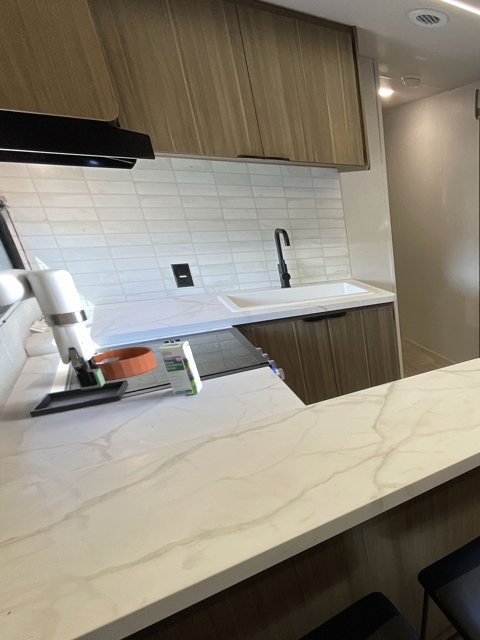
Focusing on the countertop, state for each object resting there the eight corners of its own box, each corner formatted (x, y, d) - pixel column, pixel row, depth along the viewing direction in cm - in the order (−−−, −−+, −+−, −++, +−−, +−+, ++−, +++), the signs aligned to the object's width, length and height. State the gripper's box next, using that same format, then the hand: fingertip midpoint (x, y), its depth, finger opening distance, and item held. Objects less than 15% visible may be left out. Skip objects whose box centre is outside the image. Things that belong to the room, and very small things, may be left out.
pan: (32, 419, 102) (29, 412, 101) (49, 400, 112) (46, 393, 112) (121, 402, 111) (118, 395, 110) (129, 385, 121) (126, 379, 120)
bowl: (87, 385, 121) (78, 367, 119) (99, 369, 134) (91, 352, 131) (155, 374, 129) (148, 356, 127) (160, 359, 142) (154, 343, 140)
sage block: (81, 390, 109) (75, 375, 107) (85, 385, 112) (79, 371, 111) (102, 387, 111) (96, 372, 109) (105, 381, 114) (100, 368, 113)
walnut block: (105, 375, 127) (100, 363, 126) (107, 371, 131) (102, 359, 129) (122, 372, 129) (117, 360, 128) (124, 368, 133) (120, 356, 131)
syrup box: (174, 397, 113) (157, 348, 108) (179, 389, 118) (163, 342, 113) (198, 393, 115) (182, 345, 110) (202, 386, 120) (188, 340, 115)
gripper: (56, 313, 109) (81, 375, 116) (34, 327, 96) (64, 396, 103) (93, 310, 113) (116, 370, 120) (77, 323, 100) (104, 390, 107)
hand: (92, 382), depth 111 cm, fingers closed on sage block, 4 cm apart
